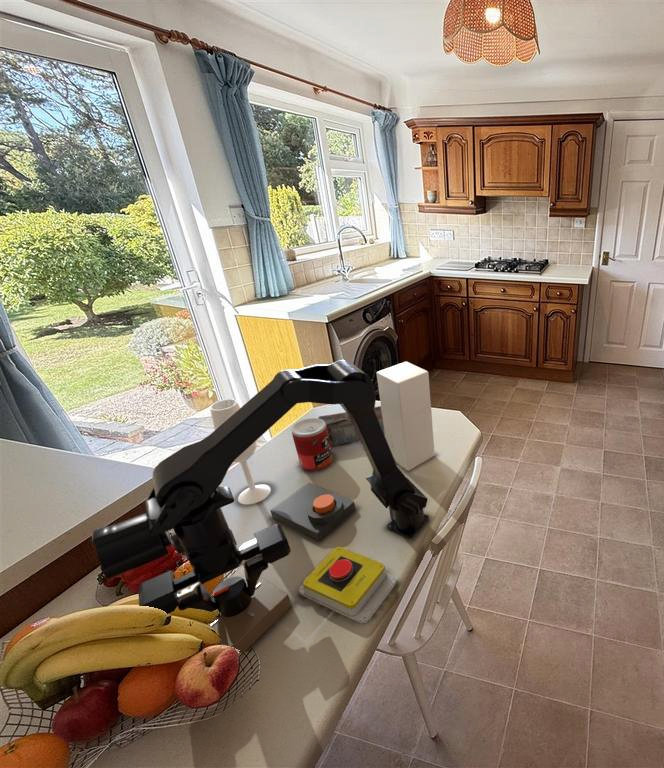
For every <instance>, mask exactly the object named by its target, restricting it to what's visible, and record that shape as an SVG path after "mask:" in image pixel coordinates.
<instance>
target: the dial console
mask: <svg viewBox="0 0 664 768" xmlns="http://www.w3.org/2000/svg"><path fill="white" fill-rule="evenodd" d="M235 576H239V577H242V578H243V579H244V580H245V582H246V577H245V571H244V567H240V568H239V569H238V570H237V571H235V572H234V573H232V574H231V575H230V576H229V577H228V578H230V577H235ZM246 585H247V582H246ZM212 597H213V596H212ZM291 607H292V602H291V600H290V597H289V594H288V593H286V592H284V591H283V590H281V589H280V588H277V587H276V586H274V585H272V584H271V583H269V582H267V581H266V580H264V579H263V578H261V577H259V579H258V581H257V585H256V588H255V592H254V595H253V596H251V602H250V604H249V606H248V607H247V608H246V609H245V610H244V611H243V612H241V613H239V614H238V615H235V616H232V617H225V616H223V615H221V613H220V617H219V618H218V619H217V620H215V621H214V622H212V623H210V624H209V625H210V626H211V627H212V628H213V629H214V630H215V631H217V632H218V633H219V635H220V636H221V642H220V644H223V645H227V646H231V647H234V648H236V649H238V650H240V651H239V652H240V653H241V655H243V654H244V653H245V652H247V650H248V649H249V648H250V647H251V646H252V645H253V644H254V643H255V642H256V641H257V640H258V639H260V637H262V635H263V634H264V633H265V632H266V631H267V630H269V628H270V627H272V625H274V623H276V621H277V620H279V619H280V618H281V617H282V616H283V615H284V613H286V612H287V611H288V610H289V609H290V608H291Z"/></svg>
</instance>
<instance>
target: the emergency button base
mask: <svg viewBox="0 0 664 768" xmlns="http://www.w3.org/2000/svg"><path fill="white" fill-rule="evenodd" d="M325 494H329V495H332V496H333V497H334V502H335V507H334V509H333V510H331V511H330V512H327V513H324V514H318V513H316V512H315V509H314V506H313V502H314V500H315V499H316V498H317V497H319V496H321V495H325ZM355 510H356V503H355V501H353V500H351V499H350V498H349V499H348V498H346V497H344V496H341V495H339V494H338V493H335V492H332V491H330V490H328V489H325V488H323V487H322V486H318V485H316V484H315V483H314V484H313V483H311V482H307V483H306V484H305V485H303V486H301V487H300V488H298V490H296V491H294V492H293V493H292V494H291V495H289V496H287V497H286V498H285V499H284V500H282V501H281V502H280V503H278V504H277V505H275V506H274V507H273V508H271V509H270V510H269V511H270V514H271V517H272V518H273V519H274V520H276V521H278V522H281V523H282V524H284V525H286V526H288V527H290V528H292V529H295V530H296V531H298V532H301V533H303V534H304V535H306V536H309V537H310V538H312V539H314V540H316V541H319V542H320V541H321V540H322V539H323V538H324V537H326V536H327V535H328V534H329V533H330V532H332V531H333V530H334V529H335V528H336V527H337V526H338V525H339V524H340V523H342V522H343V521H344V520H345V519H346V518H347V517H349V515H351V514H352V513H353V512H354V511H355Z"/></svg>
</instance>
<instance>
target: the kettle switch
mask: <svg viewBox="0 0 664 768" xmlns="http://www.w3.org/2000/svg"><path fill="white" fill-rule="evenodd" d="M313 506H314V509H315V512H316V513H318V514H324V513H327V512H330V511H331V510H333V509H334V507H335V502H334V497H333V496H332V495H329V494H325V495H321V496H319V497H317V498H316V499H315V500H314V502H313Z"/></svg>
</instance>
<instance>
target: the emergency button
mask: <svg viewBox="0 0 664 768" xmlns="http://www.w3.org/2000/svg"><path fill="white" fill-rule="evenodd" d="M397 582H398V580H397V577H396V575H393V574H392V573H388V572H387V570H386V566H385V564H384V563H382V562H380V561H377V560H375V559H372V558H370V557H368V556H365V555H363V554H360V553H358V552H355V551H353V550H350V549H348V548H345V547H343V546H336V547H335V548H334V549H333V550H332V551H331V552H329V554H328V555H327V556H326V557H325V558H324V559H323V560H322V561H321V562H320V563H319V564H318V565H317V566H316V567H315V568H314V569H313V570H312V572H310V574H309V575H307V577H305V579H304V580H303V583H302V584H301V585H300V587H299V588H298V591H299V594H300V595H301V596H302V597H305V598H307V599H308V600H311V601H313V602H315V603H317V604H319V605H321V606H323V607H326V608H327V609H330V610H332V611H334V612H335V613H338V614H339V615H342V616H344V617H347V618H348V619H350V620H353V621H354V622H357V623H358V624H367V623H368V622H369V621H370V620H371V619H372V617H373V616H374V614H375V613H376V612H377V611H378V609H379V608H380V606H381V605H382V604H383V602H384V601H385V600H386V598H387V597H388V596H389V594H390V593H391V591H392V590H393V589H394V588H395V586H396V585H397Z"/></svg>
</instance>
